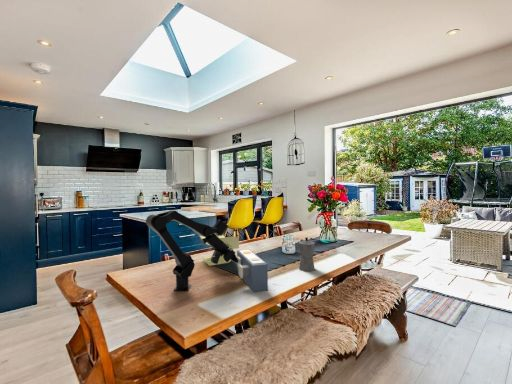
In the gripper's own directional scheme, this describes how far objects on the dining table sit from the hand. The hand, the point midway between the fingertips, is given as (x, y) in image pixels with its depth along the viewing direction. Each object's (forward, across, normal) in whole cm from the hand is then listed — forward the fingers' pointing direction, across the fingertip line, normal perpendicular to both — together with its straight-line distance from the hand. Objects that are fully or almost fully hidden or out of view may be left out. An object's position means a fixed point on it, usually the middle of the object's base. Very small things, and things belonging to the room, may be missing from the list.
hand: (237, 262), depth 141 cm
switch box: (+9, +7, -2) cm, 12 cm away
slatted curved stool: (+2, -33, -9) cm, 34 cm away
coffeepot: (+34, 0, +23) cm, 41 cm away
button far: (+5, 0, 0) cm, 5 cm away
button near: (+3, +14, -1) cm, 15 cm away
